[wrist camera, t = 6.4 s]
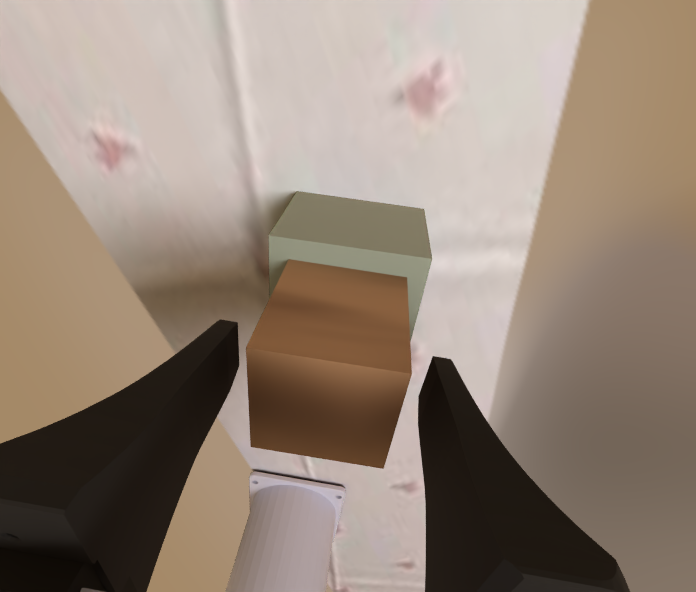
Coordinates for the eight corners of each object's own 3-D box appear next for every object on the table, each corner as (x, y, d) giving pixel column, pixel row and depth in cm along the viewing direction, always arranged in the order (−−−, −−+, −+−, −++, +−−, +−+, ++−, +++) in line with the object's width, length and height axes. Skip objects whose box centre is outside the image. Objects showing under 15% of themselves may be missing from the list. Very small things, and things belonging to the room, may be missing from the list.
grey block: (400, 310, 21) (401, 375, 17) (294, 294, 21) (270, 355, 17) (423, 208, 18) (432, 258, 14) (297, 190, 18) (268, 235, 14)
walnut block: (386, 363, 17) (383, 468, 13) (285, 347, 17) (250, 446, 13) (407, 277, 14) (411, 373, 10) (288, 258, 14) (245, 347, 10)
